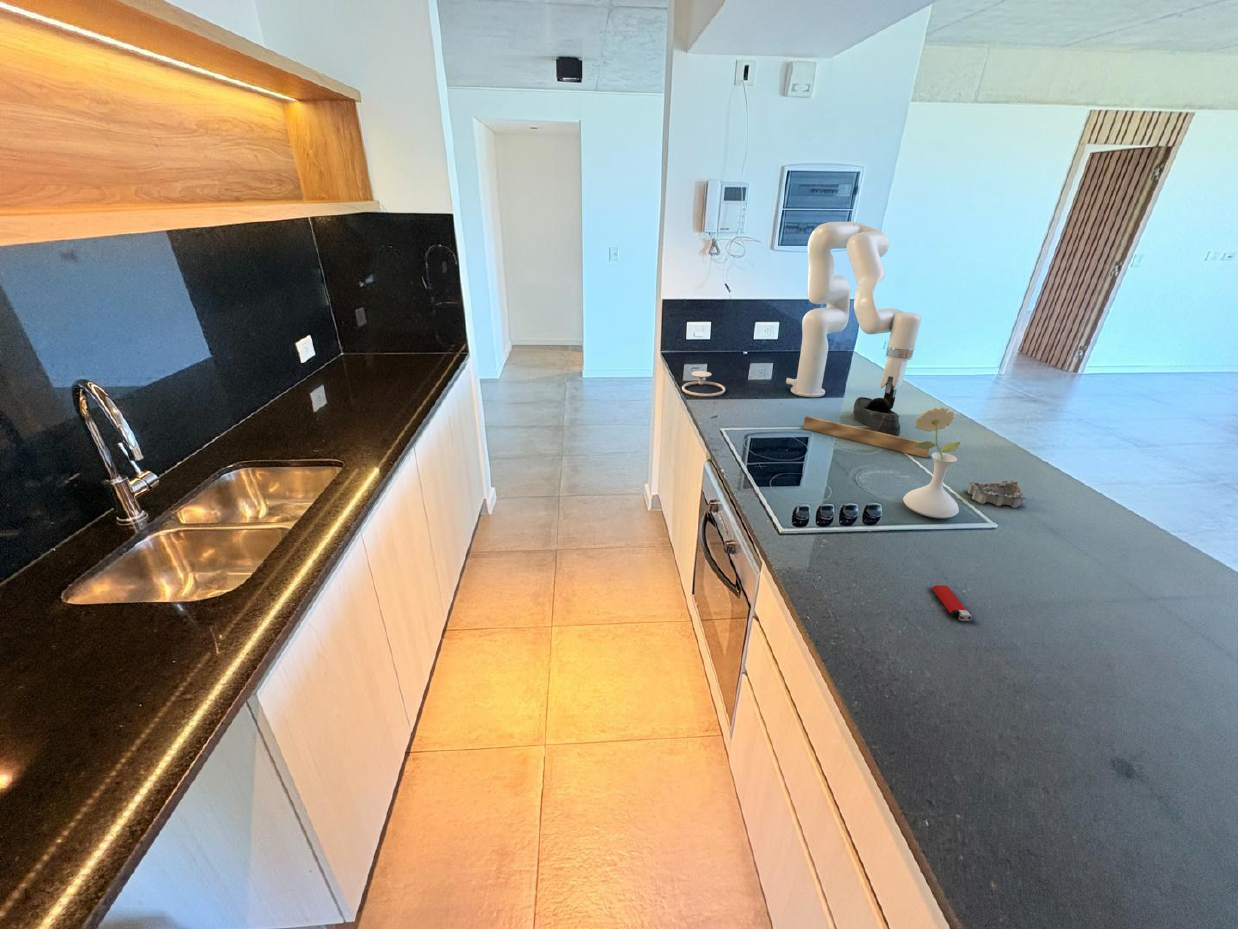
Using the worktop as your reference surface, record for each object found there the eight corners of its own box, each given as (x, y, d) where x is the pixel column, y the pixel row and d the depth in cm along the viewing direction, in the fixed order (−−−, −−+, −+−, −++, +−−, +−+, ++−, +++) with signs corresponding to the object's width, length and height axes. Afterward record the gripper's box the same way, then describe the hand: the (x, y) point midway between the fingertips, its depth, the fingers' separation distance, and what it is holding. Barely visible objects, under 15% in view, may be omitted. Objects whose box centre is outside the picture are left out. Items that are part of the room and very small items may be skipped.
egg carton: (1014, 496, 130) (1020, 481, 128) (1024, 510, 123) (1030, 495, 122) (965, 488, 133) (969, 474, 131) (972, 502, 127) (977, 487, 125)
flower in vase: (954, 504, 126) (985, 404, 115) (959, 527, 116) (994, 421, 106) (893, 493, 131) (918, 396, 120) (894, 515, 121) (920, 412, 111)
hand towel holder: (684, 386, 197) (679, 371, 215) (683, 397, 199) (678, 381, 217) (729, 385, 197) (720, 370, 215) (728, 397, 199) (720, 381, 217)
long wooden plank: (803, 428, 170) (804, 416, 168) (804, 427, 171) (806, 415, 169) (926, 457, 150) (930, 444, 148) (927, 456, 151) (931, 443, 149)
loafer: (872, 411, 184) (879, 383, 180) (911, 444, 158) (919, 412, 154) (842, 411, 185) (848, 383, 180) (876, 444, 158) (883, 412, 154)
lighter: (949, 585, 96) (973, 615, 89) (947, 591, 97) (971, 621, 90) (933, 585, 97) (956, 615, 89) (931, 590, 97) (954, 620, 90)
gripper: (892, 347, 175) (881, 399, 183) (880, 355, 164) (868, 411, 172) (917, 350, 171) (904, 404, 179) (907, 359, 160) (893, 416, 168)
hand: (887, 407), depth 175 cm, fingers closed
